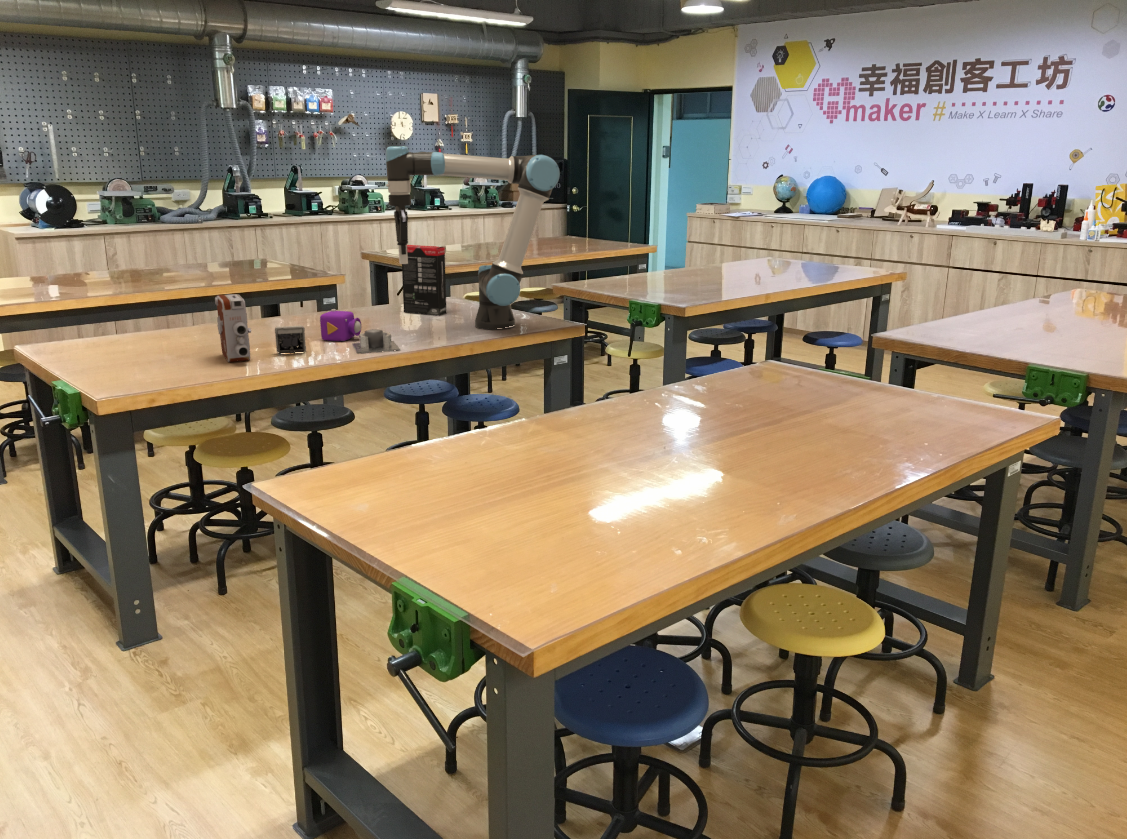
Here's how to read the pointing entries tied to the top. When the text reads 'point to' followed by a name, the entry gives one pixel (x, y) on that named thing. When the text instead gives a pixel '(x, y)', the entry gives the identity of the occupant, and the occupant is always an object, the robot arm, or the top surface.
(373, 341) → the dark grey cylinder
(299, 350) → the electrical switch
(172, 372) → the top surface
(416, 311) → the graphics card box
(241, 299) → the cine camera
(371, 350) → the grey square plate
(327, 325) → the toy camera
